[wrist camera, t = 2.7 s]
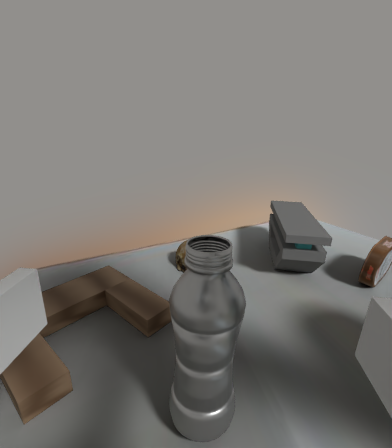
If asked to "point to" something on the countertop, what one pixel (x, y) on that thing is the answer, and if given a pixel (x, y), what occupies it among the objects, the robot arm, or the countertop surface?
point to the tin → (377, 262)
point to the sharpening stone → (296, 238)
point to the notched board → (66, 314)
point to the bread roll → (181, 257)
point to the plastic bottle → (205, 339)
